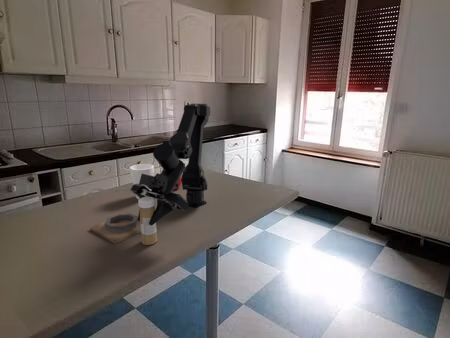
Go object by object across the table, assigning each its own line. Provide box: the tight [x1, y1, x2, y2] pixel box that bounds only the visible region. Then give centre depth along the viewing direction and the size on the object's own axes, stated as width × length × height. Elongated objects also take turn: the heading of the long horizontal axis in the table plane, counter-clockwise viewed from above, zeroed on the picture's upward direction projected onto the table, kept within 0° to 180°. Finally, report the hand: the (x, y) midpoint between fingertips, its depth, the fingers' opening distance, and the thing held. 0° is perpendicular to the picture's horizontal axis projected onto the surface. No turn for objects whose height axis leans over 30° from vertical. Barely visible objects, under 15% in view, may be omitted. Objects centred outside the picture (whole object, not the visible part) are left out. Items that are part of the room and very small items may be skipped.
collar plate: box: [89, 212, 141, 244], centre depth 93 cm, size 14×14×3 cm
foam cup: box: [129, 163, 155, 200], centre depth 119 cm, size 10×9×13 cm
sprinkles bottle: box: [137, 197, 158, 246], centre depth 83 cm, size 5×5×14 cm
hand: (144, 223), depth 82 cm, fingers closed on sprinkles bottle, 4 cm apart
